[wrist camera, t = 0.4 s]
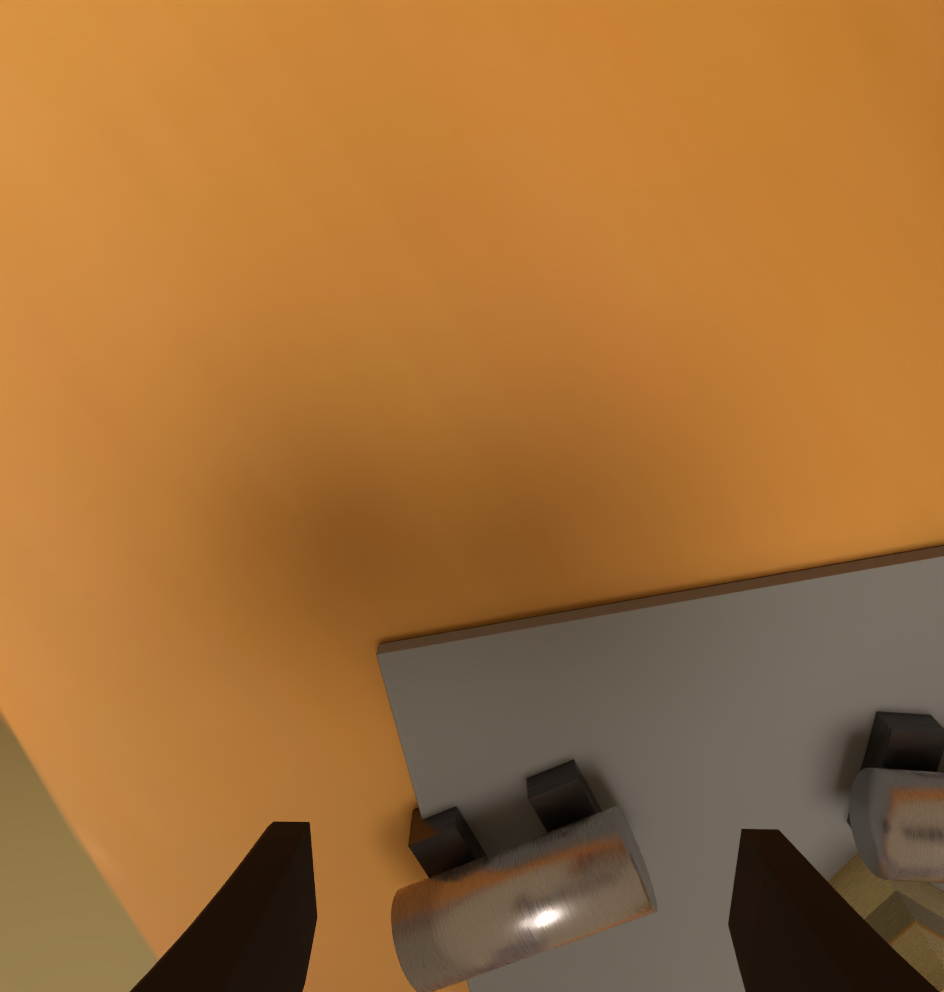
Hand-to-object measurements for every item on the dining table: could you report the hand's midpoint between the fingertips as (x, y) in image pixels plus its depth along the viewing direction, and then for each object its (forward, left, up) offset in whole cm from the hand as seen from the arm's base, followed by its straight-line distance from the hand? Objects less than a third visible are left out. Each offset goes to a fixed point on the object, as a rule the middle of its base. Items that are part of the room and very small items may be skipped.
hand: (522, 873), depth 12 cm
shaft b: (-8, +1, -10) cm, 13 cm away
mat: (-8, -7, -10) cm, 14 cm away
